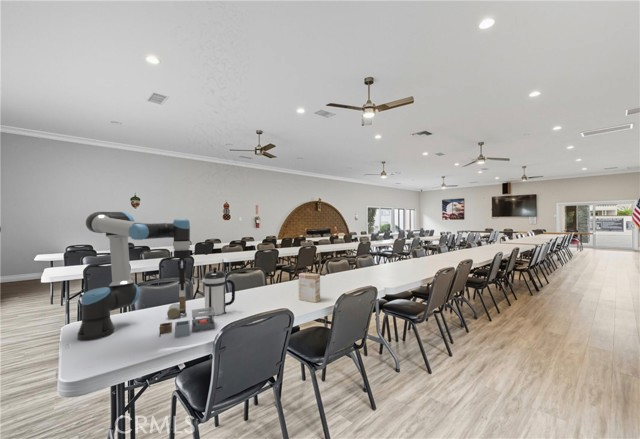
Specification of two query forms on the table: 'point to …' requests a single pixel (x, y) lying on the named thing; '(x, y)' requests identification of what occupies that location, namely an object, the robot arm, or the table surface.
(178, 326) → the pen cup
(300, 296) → the coffeecake box
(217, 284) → the coffee press
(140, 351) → the table surface
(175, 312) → the ceramic mug
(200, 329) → the button base
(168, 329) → the dowel holder
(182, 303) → the dowel
